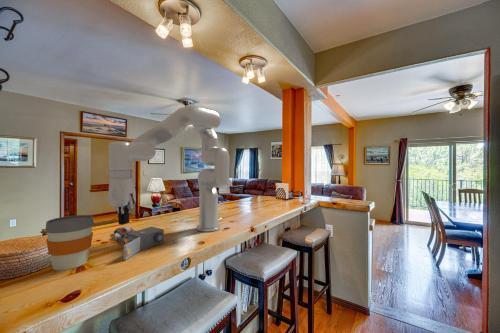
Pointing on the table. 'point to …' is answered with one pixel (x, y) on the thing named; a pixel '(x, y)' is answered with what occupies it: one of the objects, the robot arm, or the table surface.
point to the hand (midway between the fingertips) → (124, 223)
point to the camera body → (147, 237)
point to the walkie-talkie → (122, 233)
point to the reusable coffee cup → (69, 240)
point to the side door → (131, 248)
